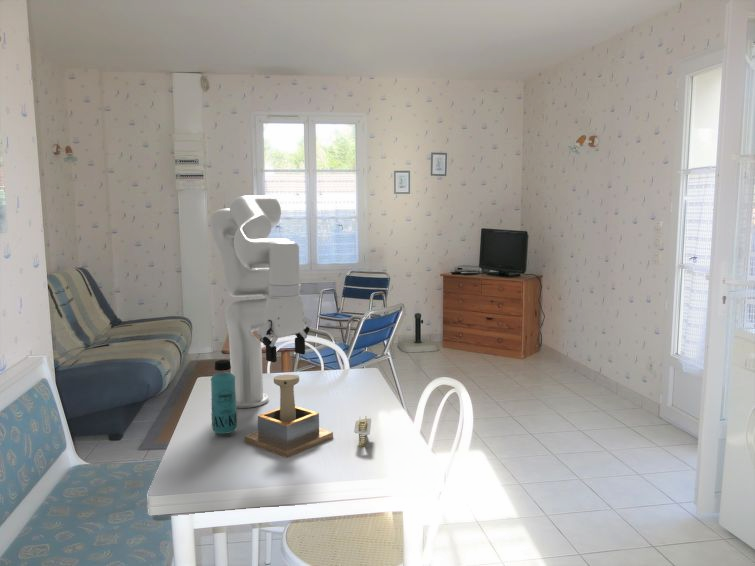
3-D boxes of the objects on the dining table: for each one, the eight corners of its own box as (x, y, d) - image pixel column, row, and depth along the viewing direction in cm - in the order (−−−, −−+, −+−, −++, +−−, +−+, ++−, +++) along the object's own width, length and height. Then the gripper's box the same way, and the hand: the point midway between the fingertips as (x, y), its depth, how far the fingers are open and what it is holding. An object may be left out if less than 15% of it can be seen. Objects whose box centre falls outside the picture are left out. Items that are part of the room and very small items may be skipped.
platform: (336, 459, 145) (335, 432, 144) (342, 431, 162) (342, 407, 162) (386, 459, 144) (386, 432, 143) (387, 431, 162) (386, 407, 161)
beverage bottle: (208, 434, 160) (204, 360, 158) (231, 428, 164) (228, 356, 162) (219, 441, 155) (215, 365, 153) (242, 434, 159) (239, 360, 157)
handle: (300, 437, 153) (298, 379, 151) (274, 437, 153) (272, 380, 151) (302, 430, 158) (300, 374, 156) (277, 430, 158) (275, 374, 156)
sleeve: (244, 441, 155) (243, 416, 154) (290, 424, 167) (290, 400, 166) (286, 457, 145) (286, 430, 144) (333, 437, 157) (332, 412, 156)
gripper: (299, 285, 160) (300, 348, 162) (247, 293, 147) (249, 361, 149) (319, 288, 155) (320, 353, 158) (267, 296, 142) (269, 367, 144)
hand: (286, 357), depth 153 cm, fingers open, 9 cm apart
